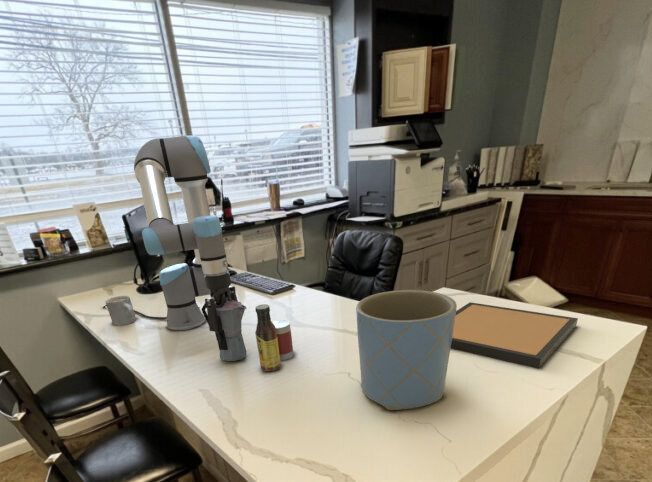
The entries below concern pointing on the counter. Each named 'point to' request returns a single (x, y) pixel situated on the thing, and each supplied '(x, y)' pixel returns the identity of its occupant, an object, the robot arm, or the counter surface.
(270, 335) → the sauce bottle
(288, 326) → the tin can
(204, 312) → the moka pot
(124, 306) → the coffee mug
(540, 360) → the framed cork board
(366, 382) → the planter
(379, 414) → the counter surface
